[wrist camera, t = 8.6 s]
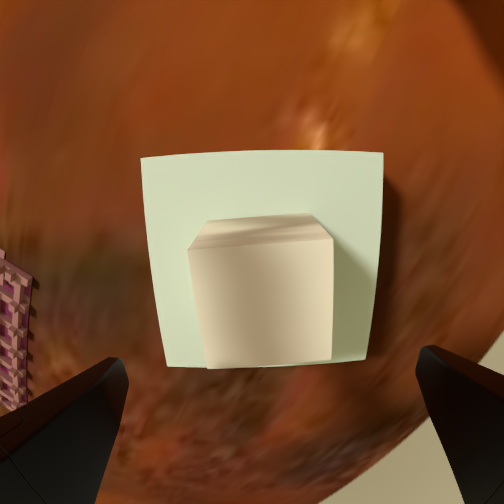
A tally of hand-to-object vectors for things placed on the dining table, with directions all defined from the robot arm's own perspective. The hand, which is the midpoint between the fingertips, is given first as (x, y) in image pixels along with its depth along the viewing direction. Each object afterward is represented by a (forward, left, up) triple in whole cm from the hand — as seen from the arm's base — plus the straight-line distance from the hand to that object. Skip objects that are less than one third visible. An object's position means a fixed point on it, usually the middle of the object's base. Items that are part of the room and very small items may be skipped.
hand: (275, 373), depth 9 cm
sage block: (0, 0, -12) cm, 12 cm away
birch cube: (0, 0, -8) cm, 8 cm away
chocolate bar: (+25, +8, -12) cm, 29 cm away
